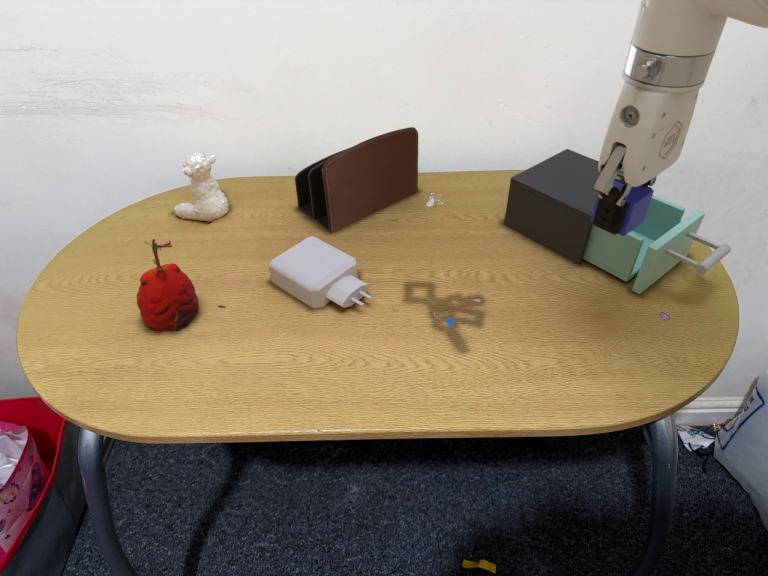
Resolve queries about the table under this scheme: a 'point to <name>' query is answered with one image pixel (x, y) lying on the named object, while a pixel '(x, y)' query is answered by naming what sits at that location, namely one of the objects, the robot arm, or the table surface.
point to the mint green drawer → (652, 245)
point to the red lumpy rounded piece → (166, 295)
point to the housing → (555, 203)
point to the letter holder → (359, 179)
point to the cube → (632, 207)
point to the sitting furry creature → (202, 191)
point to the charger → (318, 274)
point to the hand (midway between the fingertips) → (617, 219)
